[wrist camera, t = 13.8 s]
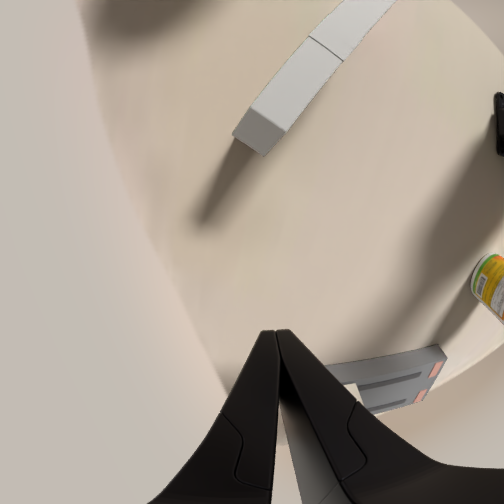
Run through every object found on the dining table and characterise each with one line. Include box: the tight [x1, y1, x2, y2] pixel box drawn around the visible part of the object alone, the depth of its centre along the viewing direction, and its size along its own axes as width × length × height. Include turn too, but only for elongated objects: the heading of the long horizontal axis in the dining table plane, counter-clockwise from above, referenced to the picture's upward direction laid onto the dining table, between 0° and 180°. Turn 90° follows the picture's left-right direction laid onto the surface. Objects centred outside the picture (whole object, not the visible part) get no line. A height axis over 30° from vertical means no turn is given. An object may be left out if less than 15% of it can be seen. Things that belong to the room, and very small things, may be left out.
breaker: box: [344, 383, 364, 406], centre depth 21 cm, size 2×3×4 cm
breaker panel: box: [325, 344, 447, 415], centre depth 26 cm, size 17×8×3 cm, turn 91°
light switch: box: [232, 0, 397, 156], centre depth 11 cm, size 2×12×8 cm, turn 145°
